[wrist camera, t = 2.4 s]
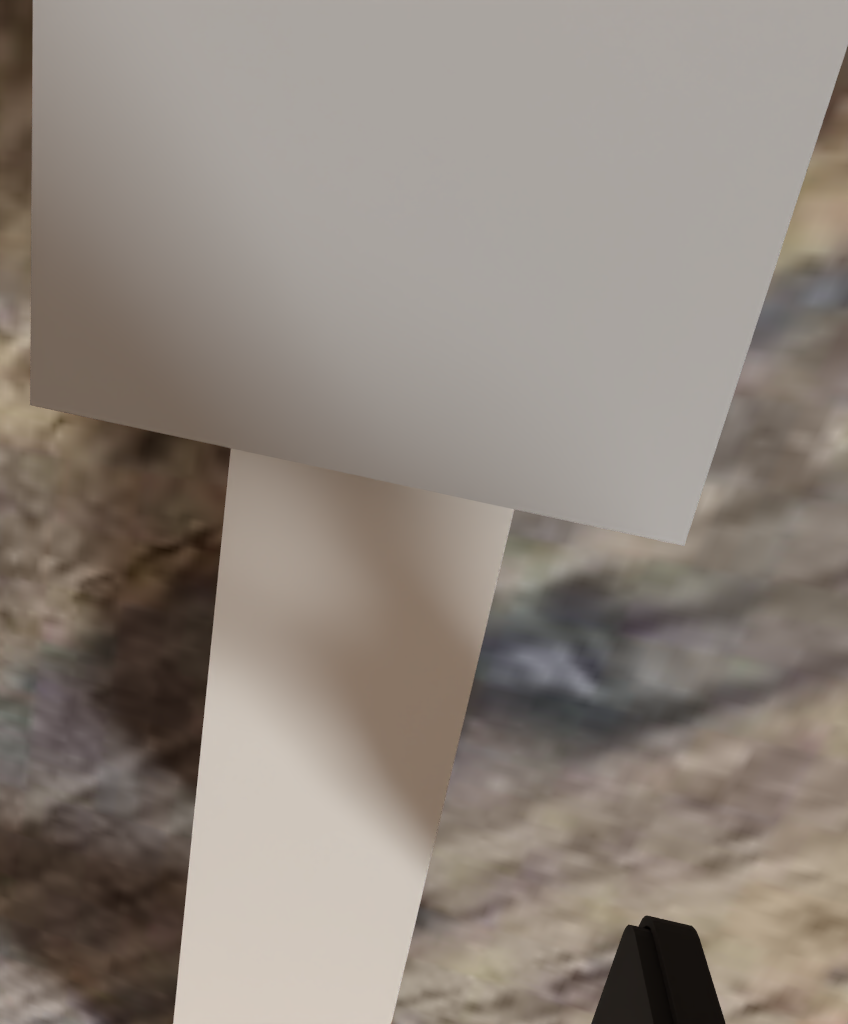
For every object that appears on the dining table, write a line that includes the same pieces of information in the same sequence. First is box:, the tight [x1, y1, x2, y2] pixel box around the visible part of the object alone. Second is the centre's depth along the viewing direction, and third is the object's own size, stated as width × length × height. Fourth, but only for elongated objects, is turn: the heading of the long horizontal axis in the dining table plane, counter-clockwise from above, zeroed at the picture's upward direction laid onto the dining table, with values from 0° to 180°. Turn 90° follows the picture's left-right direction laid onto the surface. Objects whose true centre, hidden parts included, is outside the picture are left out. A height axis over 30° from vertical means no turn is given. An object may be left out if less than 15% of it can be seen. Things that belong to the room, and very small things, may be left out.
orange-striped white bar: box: [173, 448, 514, 1024], centre depth 11 cm, size 24×4×4 cm, turn 169°
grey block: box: [30, 0, 848, 546], centre depth 9 cm, size 10×6×8 cm, turn 169°
